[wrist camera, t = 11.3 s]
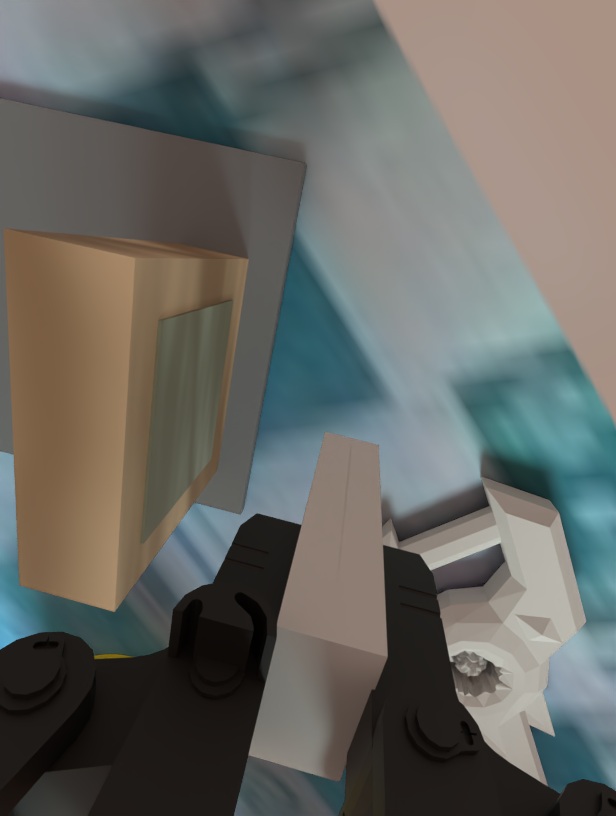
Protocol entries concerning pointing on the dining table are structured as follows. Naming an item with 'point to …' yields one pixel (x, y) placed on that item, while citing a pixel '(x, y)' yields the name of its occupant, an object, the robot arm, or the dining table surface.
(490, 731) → the light grey toy spaceship
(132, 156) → the mat
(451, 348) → the dining table surface
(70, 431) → the rectangular block
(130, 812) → the robot arm
